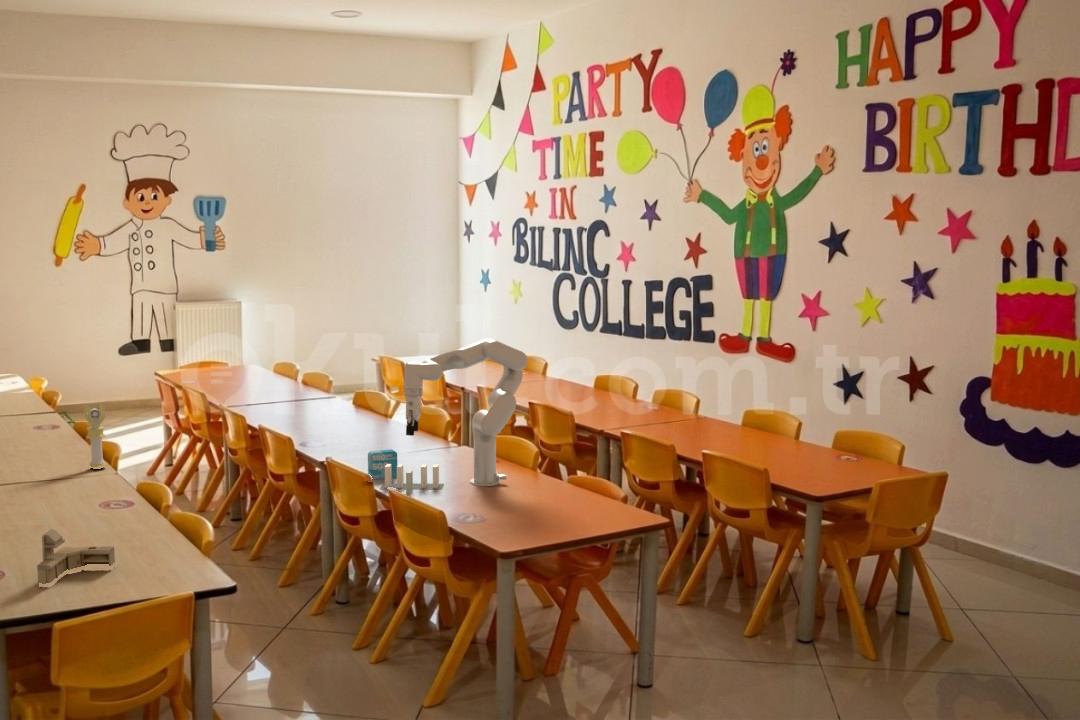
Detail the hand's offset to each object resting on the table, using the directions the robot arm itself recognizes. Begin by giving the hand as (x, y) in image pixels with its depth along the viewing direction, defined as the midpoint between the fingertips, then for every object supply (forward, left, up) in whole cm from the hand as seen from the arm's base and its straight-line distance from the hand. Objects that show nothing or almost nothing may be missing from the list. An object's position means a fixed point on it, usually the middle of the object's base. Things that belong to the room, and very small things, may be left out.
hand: (412, 433), depth 417 cm
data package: (+16, -20, -24) cm, 35 cm away
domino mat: (+1, -4, -24) cm, 24 cm away
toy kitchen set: (+90, +108, -25) cm, 142 cm away
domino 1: (+11, -4, -24) cm, 26 cm away
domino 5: (-9, -4, -24) cm, 26 cm away
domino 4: (-4, -4, -24) cm, 24 cm away
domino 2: (+6, -4, -24) cm, 25 cm away
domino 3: (+1, +4, -24) cm, 25 cm away
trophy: (+146, -33, -24) cm, 152 cm away
